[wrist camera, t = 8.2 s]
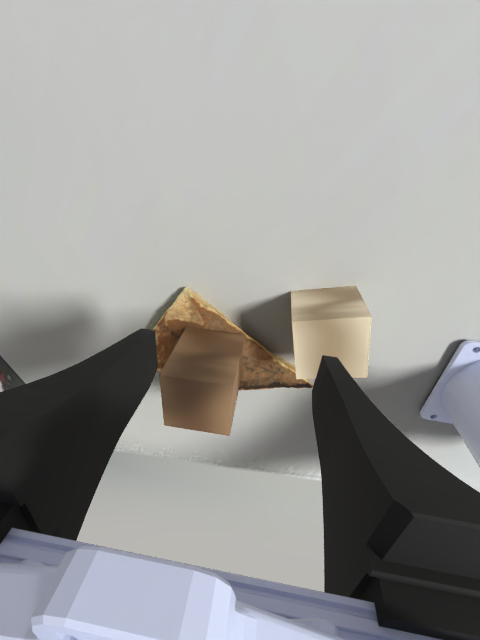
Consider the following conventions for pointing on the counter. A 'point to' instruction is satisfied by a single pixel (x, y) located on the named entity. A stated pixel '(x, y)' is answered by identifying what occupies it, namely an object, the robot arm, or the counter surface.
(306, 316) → the maple block
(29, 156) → the counter surface
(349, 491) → the robot arm
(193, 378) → the walnut block
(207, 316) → the shard
